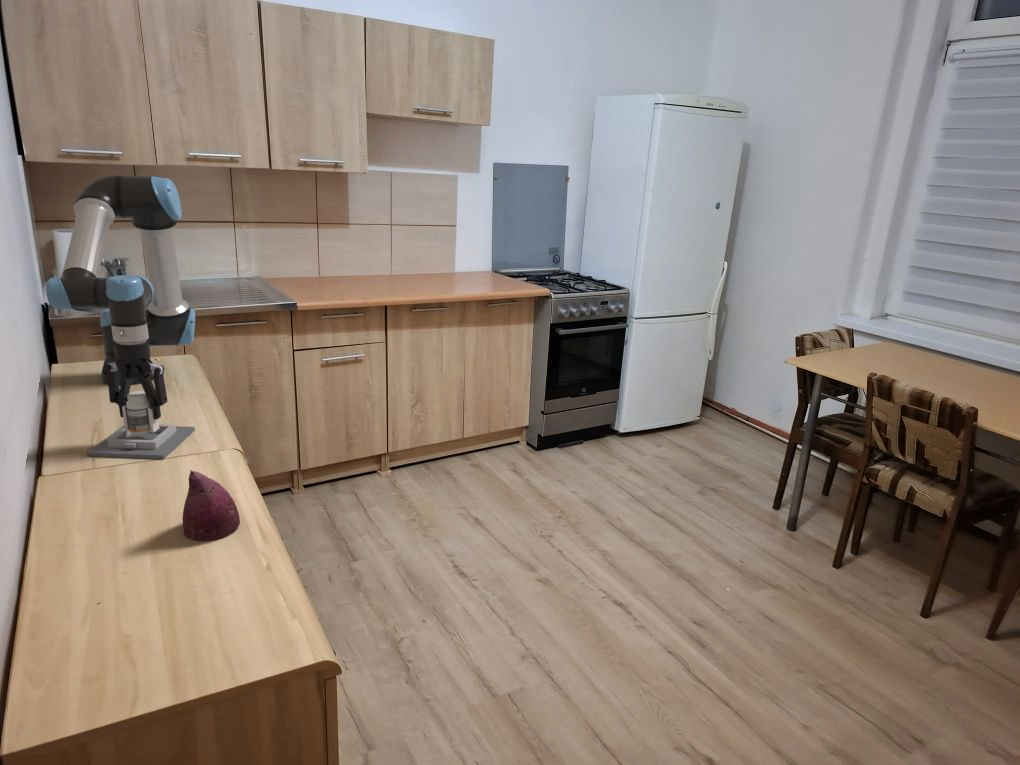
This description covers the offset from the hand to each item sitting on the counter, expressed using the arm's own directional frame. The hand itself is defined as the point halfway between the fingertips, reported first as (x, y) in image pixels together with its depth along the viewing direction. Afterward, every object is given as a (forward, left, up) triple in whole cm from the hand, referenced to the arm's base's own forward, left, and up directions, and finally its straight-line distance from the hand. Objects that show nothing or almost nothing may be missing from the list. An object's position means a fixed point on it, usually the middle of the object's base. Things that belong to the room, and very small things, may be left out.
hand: (142, 429), depth 167 cm
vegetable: (+39, +32, -4) cm, 51 cm away
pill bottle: (0, 0, -1) cm, 1 cm away
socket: (0, 0, -4) cm, 4 cm away
